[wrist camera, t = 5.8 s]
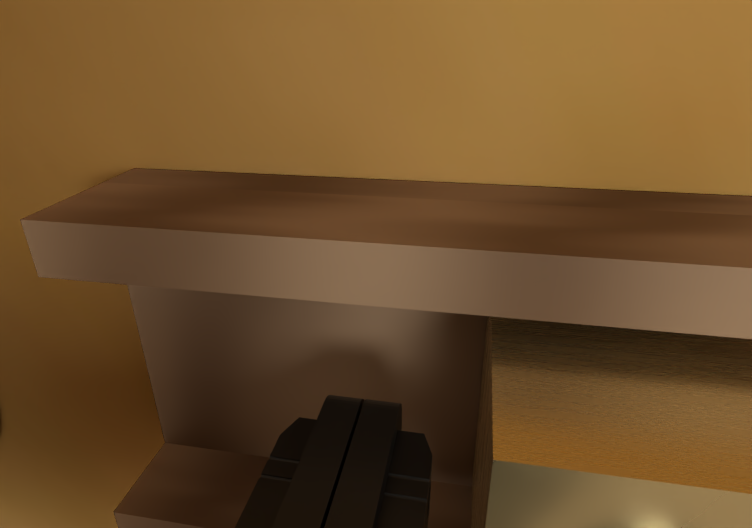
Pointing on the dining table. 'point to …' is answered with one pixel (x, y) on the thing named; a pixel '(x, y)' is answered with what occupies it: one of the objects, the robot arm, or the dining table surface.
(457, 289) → the rail
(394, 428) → the robot arm
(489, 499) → the slider block
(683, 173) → the dining table surface
